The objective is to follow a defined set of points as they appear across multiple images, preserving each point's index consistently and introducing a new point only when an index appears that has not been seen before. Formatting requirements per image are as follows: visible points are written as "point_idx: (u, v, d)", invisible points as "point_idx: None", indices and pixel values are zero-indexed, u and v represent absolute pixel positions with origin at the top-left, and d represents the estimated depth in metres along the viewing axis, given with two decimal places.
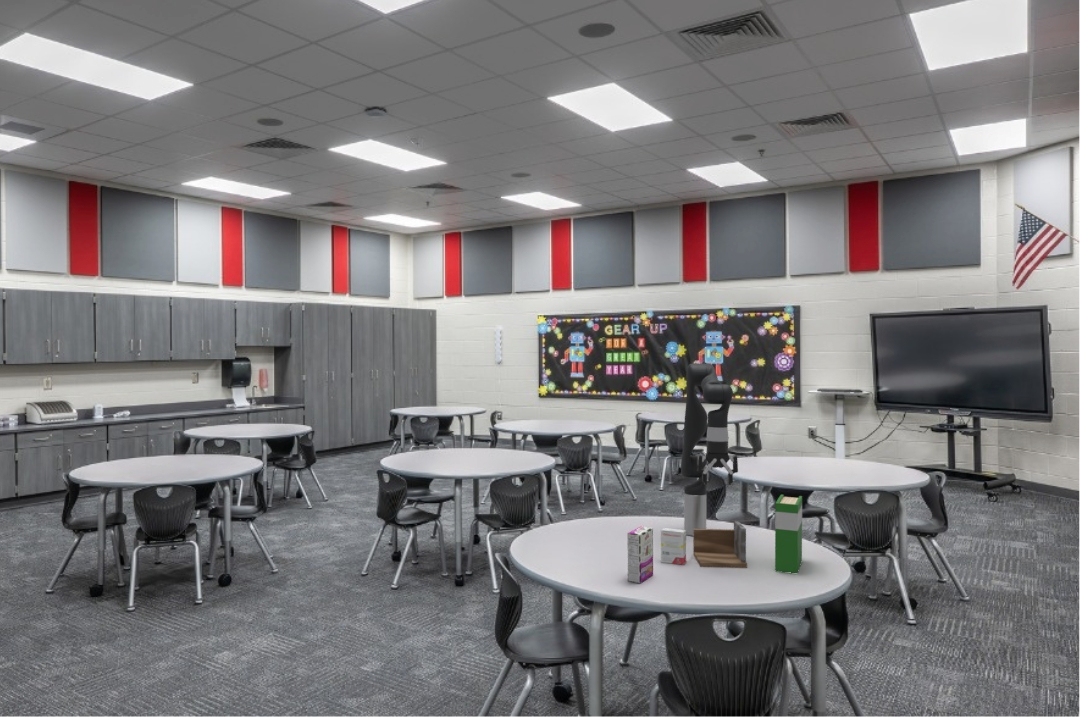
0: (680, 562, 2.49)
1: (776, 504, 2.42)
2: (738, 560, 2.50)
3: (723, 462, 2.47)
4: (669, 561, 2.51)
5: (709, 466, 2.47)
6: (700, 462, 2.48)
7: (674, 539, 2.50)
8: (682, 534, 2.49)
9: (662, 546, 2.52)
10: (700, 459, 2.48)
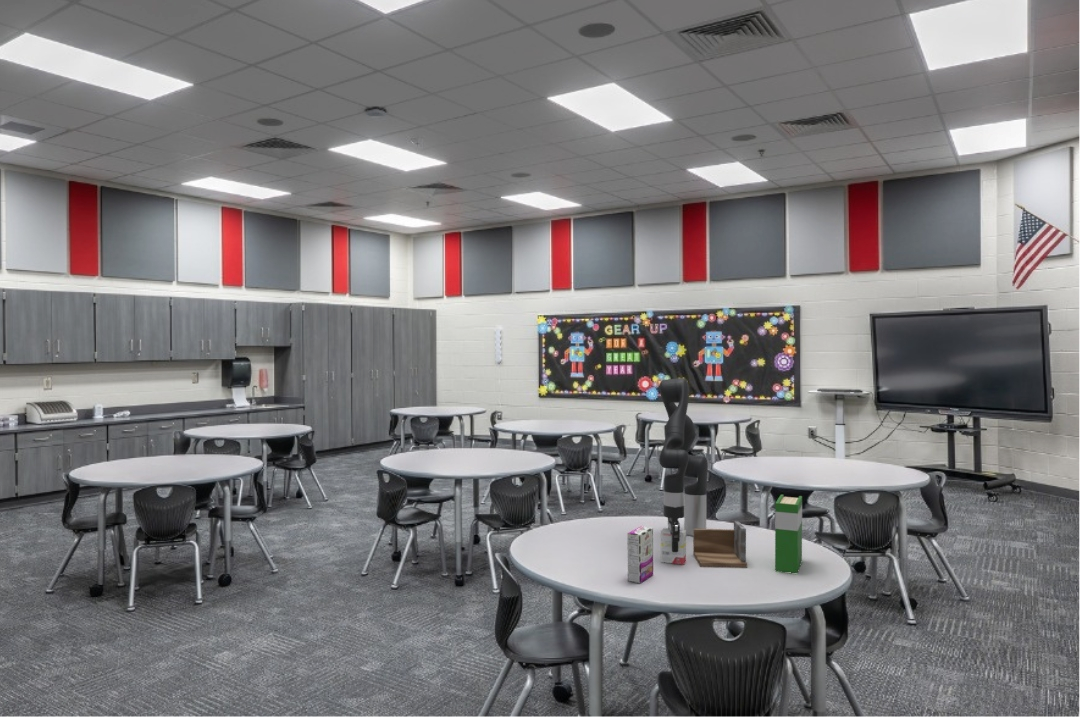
0: (680, 562, 2.49)
1: (776, 504, 2.42)
2: (738, 560, 2.50)
3: None
4: (669, 561, 2.51)
5: None
6: None
7: None
8: (682, 534, 2.49)
9: (662, 546, 2.52)
10: None
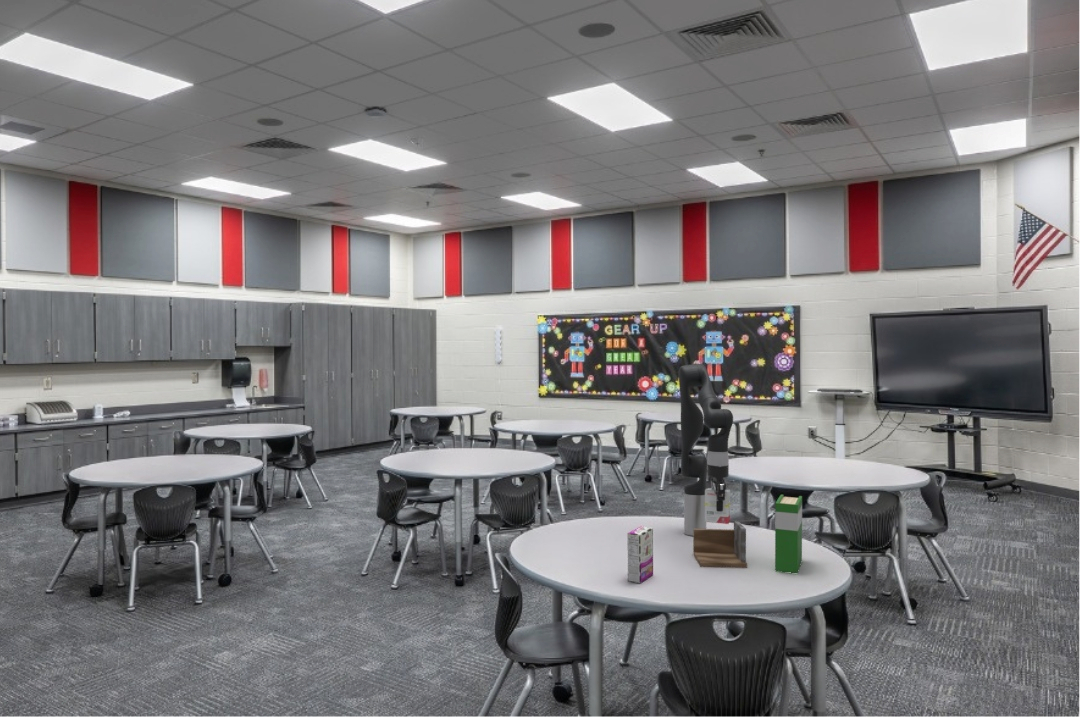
0: (725, 521, 2.49)
1: (776, 504, 2.42)
2: (738, 560, 2.50)
3: None
4: (713, 521, 2.50)
5: None
6: None
7: None
8: (727, 493, 2.48)
9: (706, 506, 2.51)
10: None
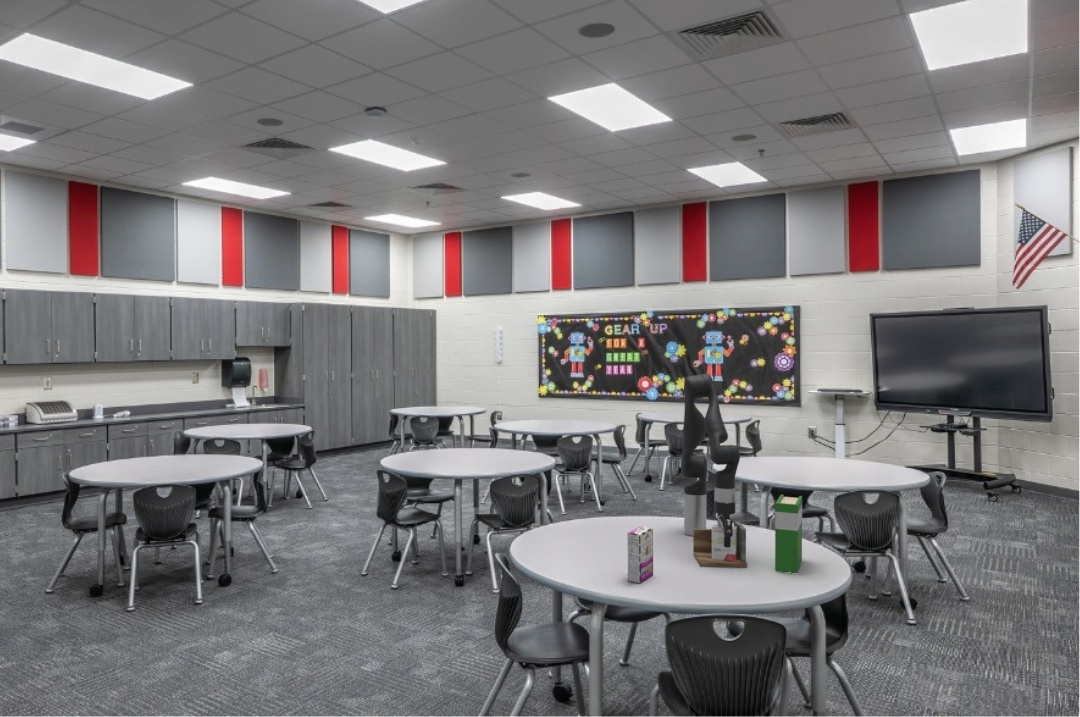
0: (732, 559, 2.48)
1: (776, 504, 2.42)
2: (738, 560, 2.50)
3: None
4: (720, 558, 2.50)
5: None
6: None
7: None
8: (734, 531, 2.48)
9: (713, 543, 2.51)
10: None
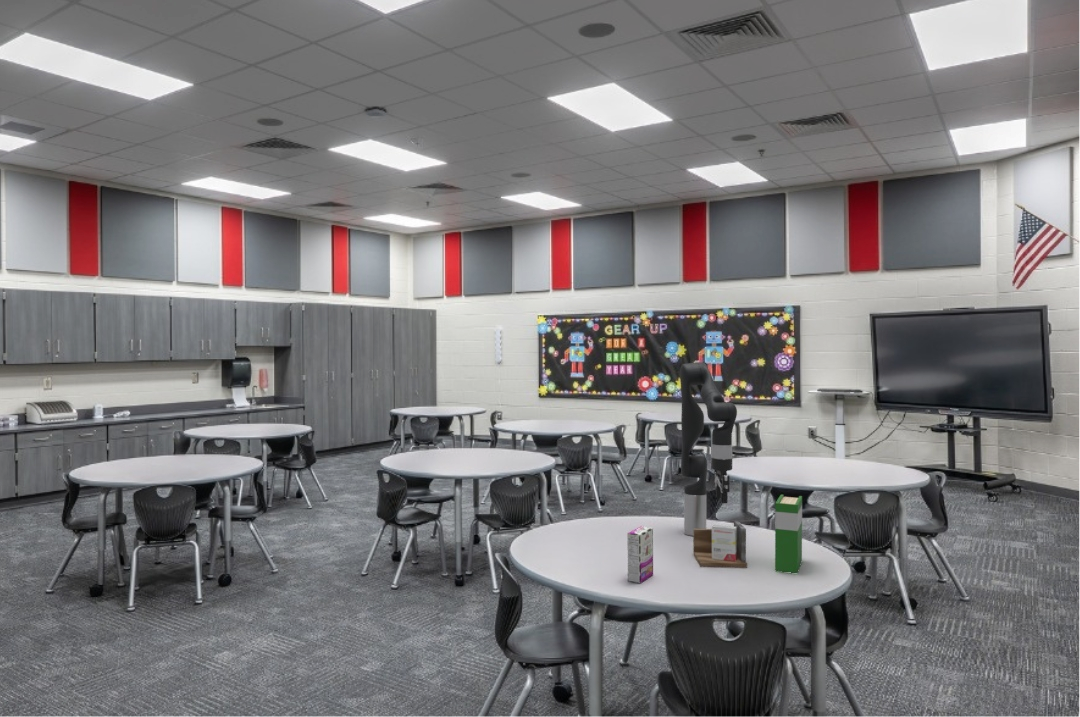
0: (732, 559, 2.48)
1: (776, 504, 2.42)
2: (738, 560, 2.50)
3: None
4: (720, 558, 2.50)
5: None
6: None
7: (725, 535, 2.49)
8: (734, 530, 2.48)
9: (713, 543, 2.51)
10: None
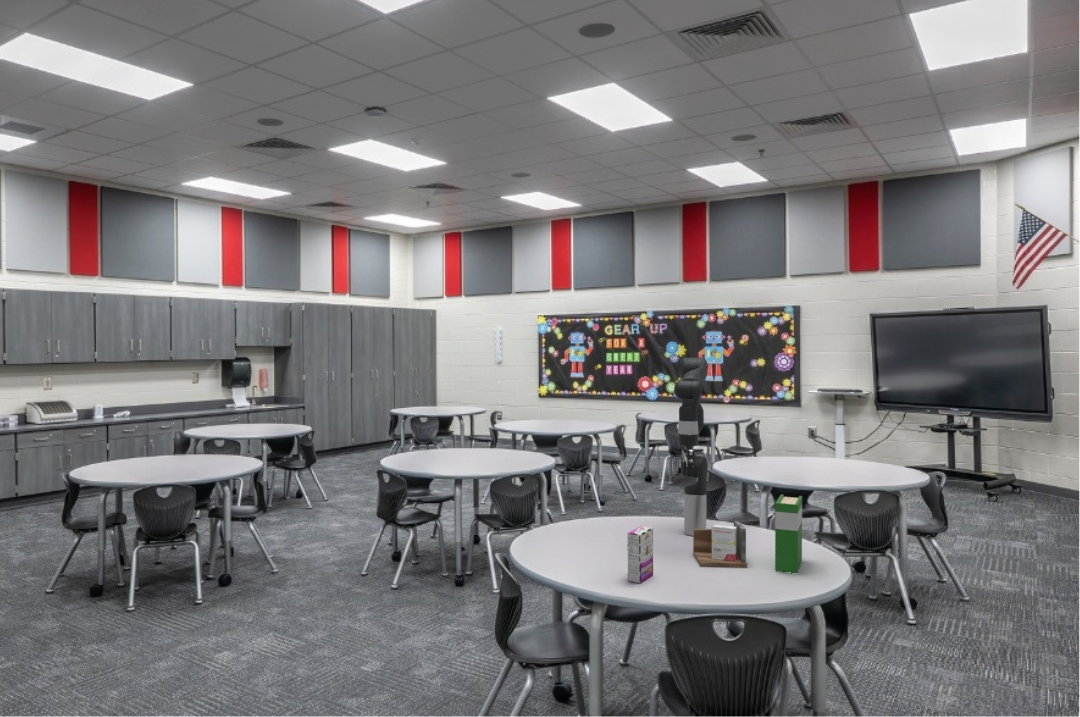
0: (732, 559, 2.48)
1: (776, 504, 2.42)
2: (738, 560, 2.50)
3: None
4: (720, 558, 2.50)
5: None
6: None
7: (725, 535, 2.49)
8: (734, 531, 2.48)
9: (713, 543, 2.51)
10: None
